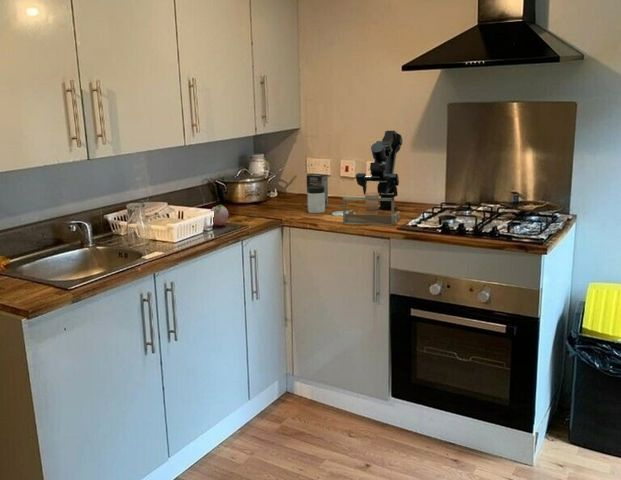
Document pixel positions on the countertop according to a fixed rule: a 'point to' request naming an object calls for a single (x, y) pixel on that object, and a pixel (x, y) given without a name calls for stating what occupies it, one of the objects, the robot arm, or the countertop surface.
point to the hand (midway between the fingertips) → (374, 194)
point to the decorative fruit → (220, 215)
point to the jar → (316, 199)
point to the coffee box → (318, 184)
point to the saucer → (339, 213)
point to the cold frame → (369, 218)
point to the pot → (372, 203)
